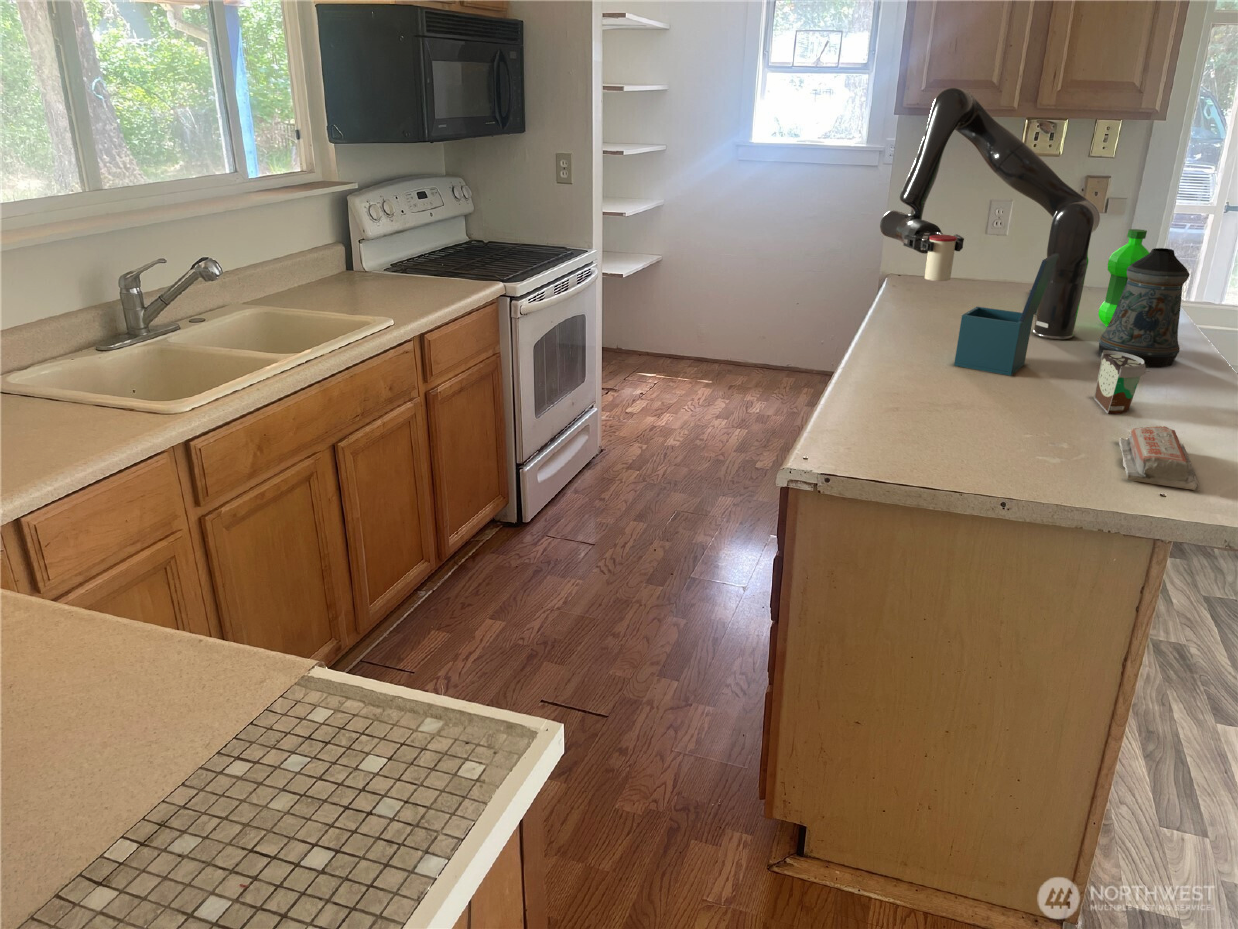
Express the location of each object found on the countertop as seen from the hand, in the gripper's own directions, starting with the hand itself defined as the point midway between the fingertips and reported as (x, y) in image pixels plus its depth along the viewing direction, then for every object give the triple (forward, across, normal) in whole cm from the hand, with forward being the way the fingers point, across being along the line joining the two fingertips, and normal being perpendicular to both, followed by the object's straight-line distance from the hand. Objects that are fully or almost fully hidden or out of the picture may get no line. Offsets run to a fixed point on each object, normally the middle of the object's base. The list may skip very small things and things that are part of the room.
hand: (945, 247), depth 207 cm
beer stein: (+12, +44, +24) cm, 52 cm away
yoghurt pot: (-2, 0, +8) cm, 8 cm away
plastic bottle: (-15, +55, +24) cm, 62 cm away
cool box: (+18, +7, +24) cm, 31 cm away
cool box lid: (+23, +12, +5) cm, 26 cm away
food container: (+47, +20, +24) cm, 57 cm away
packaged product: (+76, +10, +24) cm, 80 cm away
